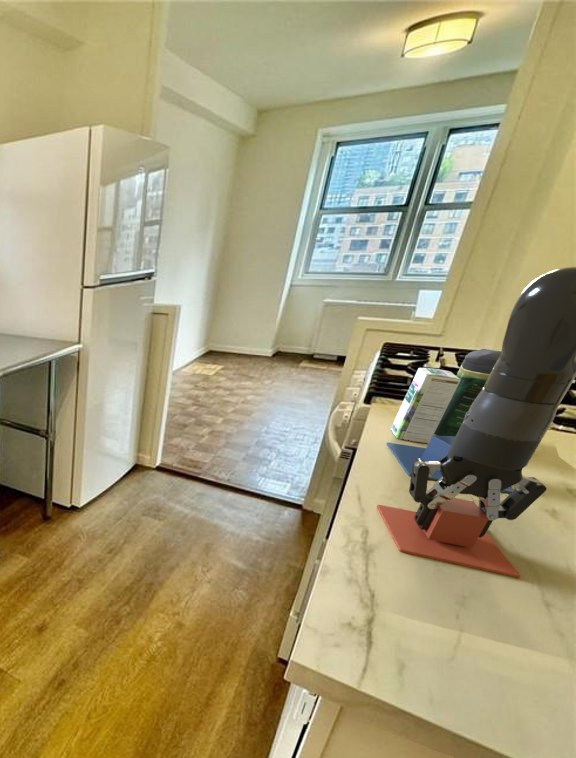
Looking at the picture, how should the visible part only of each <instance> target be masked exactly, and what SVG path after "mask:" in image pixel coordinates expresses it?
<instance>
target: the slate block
mask: <svg viewBox="0 0 576 758" xmlns="http://www.w3.org/2000/svg"><path fill="white" fill-rule="evenodd" d="M455 437H456V436H438V435H435V434H433V436H432V437H431V440H430V442H429V443H427V446H426V447H425V448H426V450H425V452H424V454H423V456H422V459H423V460H425V461H426V462H439V461H440V460H441V459H442V458H444V457H445V456H446V455H447V454H448V452H449V449H450V447H451V445H452V443H453V441H454V439H455Z"/></svg>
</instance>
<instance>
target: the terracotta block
mask: <svg viewBox="0 0 576 758" xmlns="http://www.w3.org/2000/svg"><path fill="white" fill-rule="evenodd" d="M436 510H437V512H436V514H435V516H434V518H433V520H432V522H431V523H430V525H429V527H428V529H427V530H423V531H424V533H425V534H426V536H427V538H428V539H431V540H436V541H441V542H446V543H450V544H455V545H460V546H465V547H470V548H472V547H473V546H474V544H475V542H476V540H477V539H478V537H479V535H480V533H481V532H482V530H483V528H484V526H485V525H486V523H487V521H488V518H487V516H486V515H485V514H484V513H483V512H482V511H481V509H480V508H479V505H477V503H476V502H475V501H473V500H469V499H464V498H463V499H462V498H456V497H454V498H452V499H451V500H446V501H445V502H444V503H443V504H442V505H440V506H439V507H438V508H436Z"/></svg>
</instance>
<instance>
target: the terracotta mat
mask: <svg viewBox="0 0 576 758" xmlns="http://www.w3.org/2000/svg"><path fill="white" fill-rule="evenodd" d="M376 508H377V510H378V511H379V514H380V516H381V517H382V520H383V521H384V524H385V526H386V528H387V530H388V531H389V533H390V535H391V537H392V539H393V541H394V543H395V544H396V547H397V549H398V551H399V552H400V553H405V554H410V555H413V556H414V555H415V556H419V557H422V558H427V559H432V560H437V561H441V562H445V563H450V564H454V565H460V566H463V567H468V568H473V569H477V570H482V571H486V572H490V573H495V574H500V575H504V576H509V577H512V578H517V579H520V578H521V577H522V575H521V574H520V573H519V571H518V570H517V568H515V566H514V565H513V564H512V563H511V562H510V560H509V559H508V558H507V557H506V555H505V554H504V553H503V552H502V550H501V549H500V548H499V547H498V545H497V544H496V543H495V542H494V540H493V539H492V538H491V537H490V535H489V534H488V533H487V532H486V533H485V535H484V536H482V537H481V538H480V537H478V539H477V540H476V542H475V544H474V546H473V547H472V548H470V547H465V546H460V545H455V544H450V543H446V542H441V541H436V540H431V539H428V538H427V536H426V534H425V533H424V531H423V530H422V529H420V528H419V526H418V525H417V523H416V522H415V520H414V516H415V514H416V512H417V511H414V510H408V509H403V508H398V507H394V506H389V505H383V504H376Z"/></svg>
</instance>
